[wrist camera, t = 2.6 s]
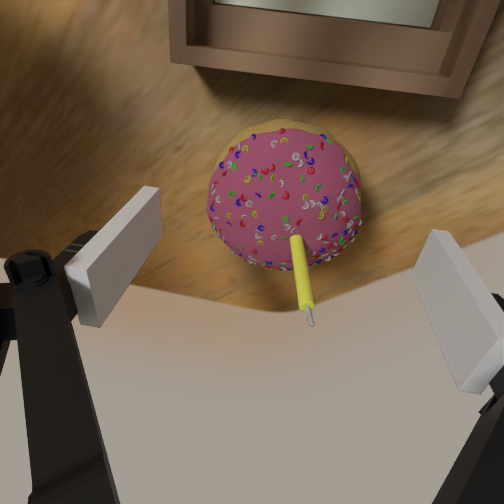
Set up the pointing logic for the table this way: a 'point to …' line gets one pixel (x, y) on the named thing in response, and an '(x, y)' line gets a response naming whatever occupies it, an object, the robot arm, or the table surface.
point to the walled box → (337, 40)
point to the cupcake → (285, 199)
